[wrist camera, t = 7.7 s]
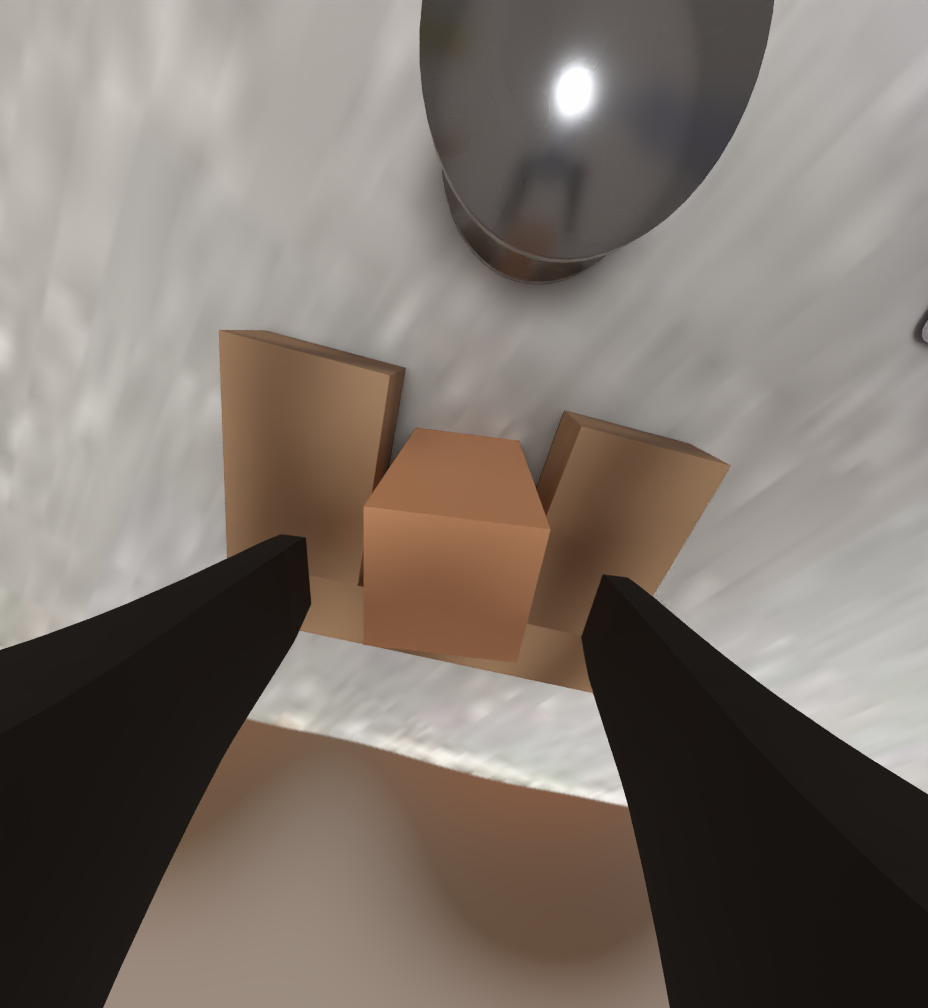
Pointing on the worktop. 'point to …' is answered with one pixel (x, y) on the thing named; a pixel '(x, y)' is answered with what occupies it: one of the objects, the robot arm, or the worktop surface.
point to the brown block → (453, 547)
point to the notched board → (365, 460)
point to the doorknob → (580, 118)
